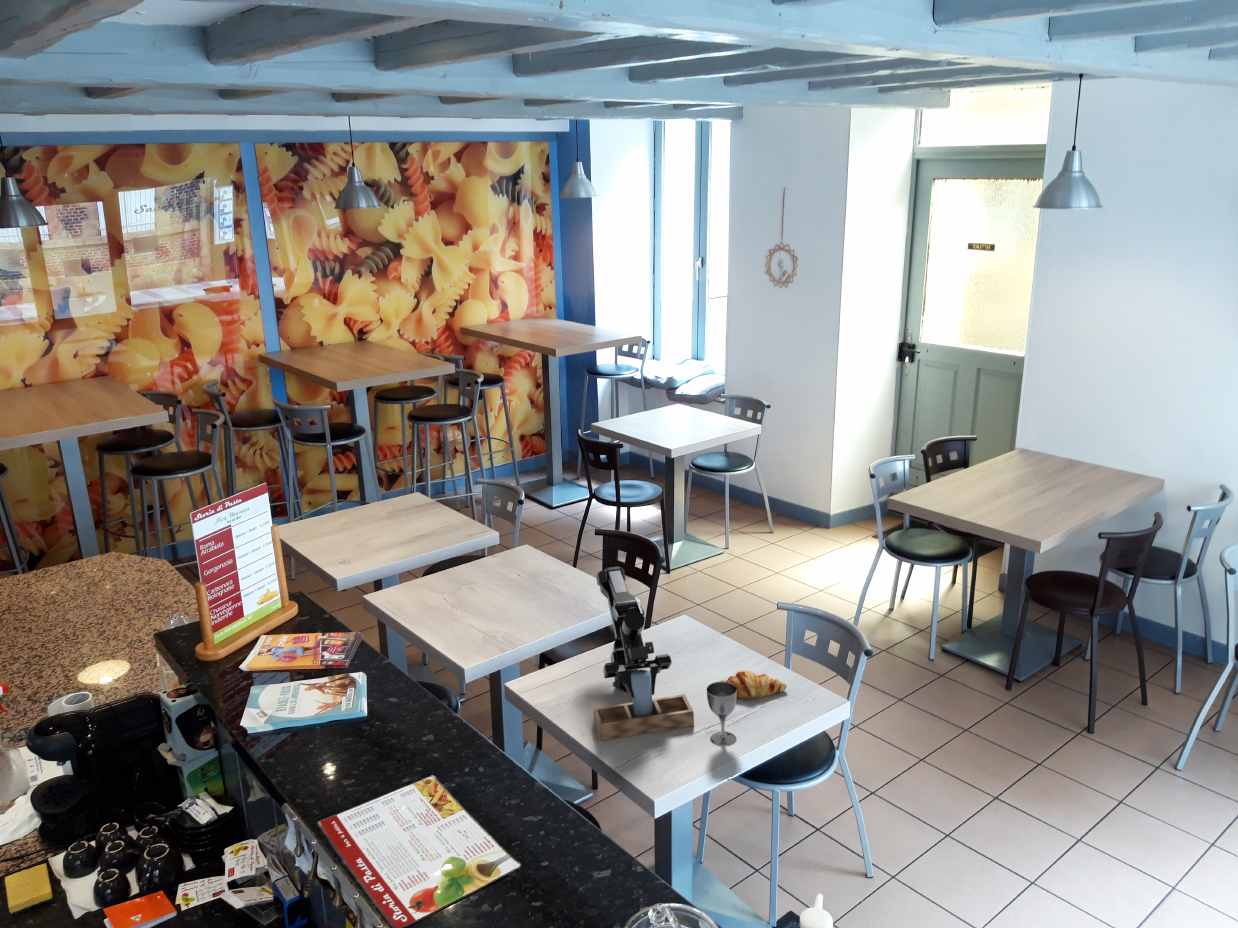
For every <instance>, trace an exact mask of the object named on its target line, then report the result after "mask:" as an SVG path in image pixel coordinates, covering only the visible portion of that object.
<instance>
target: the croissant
mask: <svg viewBox="0 0 1238 928" xmlns="http://www.w3.org/2000/svg"><path fill="white" fill-rule="evenodd" d="M719 682H729V683H732V684H733V685H735V686H736V689H737V699H741V700H742V699H743V700H745V699H759V698H760V699H761V698H764V697H767V696H771V695H773V694H777V693H782V692H784V691H785V690H786V689H787V687H788V685H787V684H786V683H783V682H782V681H781V680H779V679H778V678H776V679H774V678H773V677H770V676H769V675H767V674H766V673H762V674H759V675H757V674H756V673H755V672H754V671H751V670H740V671H737V672H736V674H735V675H731V676H729V677H728V678H727V679H726V680H725V679H723V680H720V681H719Z"/></svg>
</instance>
